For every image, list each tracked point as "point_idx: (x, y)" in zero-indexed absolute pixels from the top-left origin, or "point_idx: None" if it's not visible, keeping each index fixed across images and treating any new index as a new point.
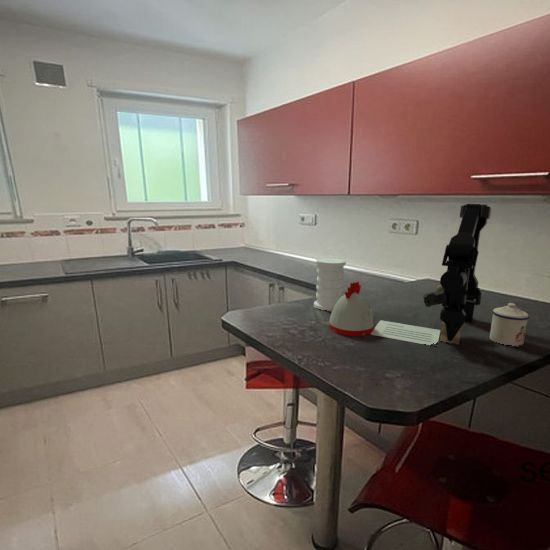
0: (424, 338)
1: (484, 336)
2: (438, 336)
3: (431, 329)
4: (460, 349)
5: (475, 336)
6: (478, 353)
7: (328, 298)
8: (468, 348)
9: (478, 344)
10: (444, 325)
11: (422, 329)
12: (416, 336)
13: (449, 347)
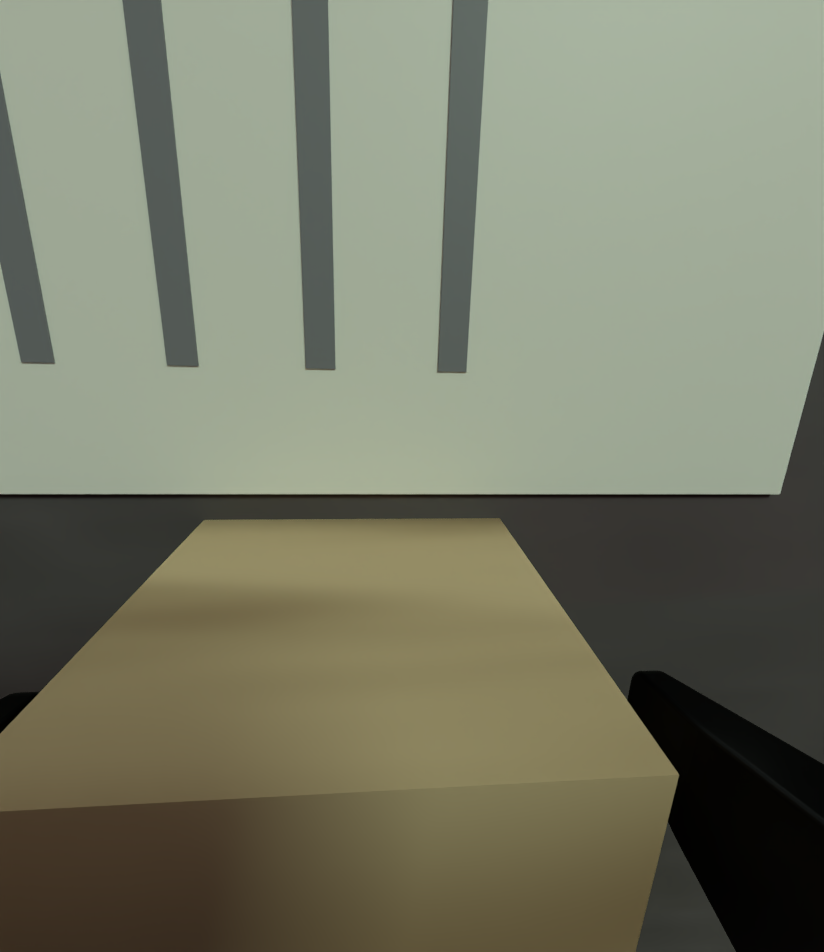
0: (149, 228)
1: (701, 943)
2: (428, 482)
3: (776, 338)
4: None
5: (666, 879)
6: None
7: None
8: None
9: None
10: (46, 881)
11: (721, 145)
12: (158, 16)
13: (11, 662)
